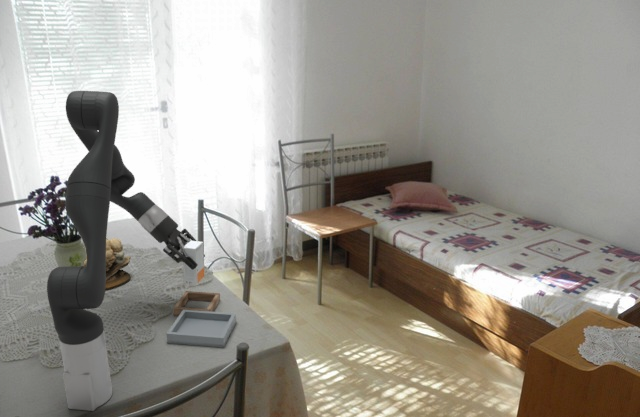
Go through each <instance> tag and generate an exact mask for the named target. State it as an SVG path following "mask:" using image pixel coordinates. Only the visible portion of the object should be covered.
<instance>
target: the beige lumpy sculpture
mask: <svg viewBox="0 0 640 417" xmlns="http://www.w3.org/2000/svg"><path fill="white" fill-rule="evenodd" d="M123 246H124V245H123V243H122V241H121V240H120V239H119V238H110V240H109V239H108V237H106V287H105V292H106V291H109V290H113V289H117V288H119V287H122V286H124V285H125V284H127V283H128V282H130V281H131V279H132V278H131V277H132V276H131V273H129V272H127V271H126V270H124V269H123V268H125V267H127V266H128V265H129V264H130V262H131V256H129V255H127V256H125V252H126V251H125V250H123V249H124V247H123ZM86 264H87V255H86V260H85V261H84V264H83V266H86Z"/></svg>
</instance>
